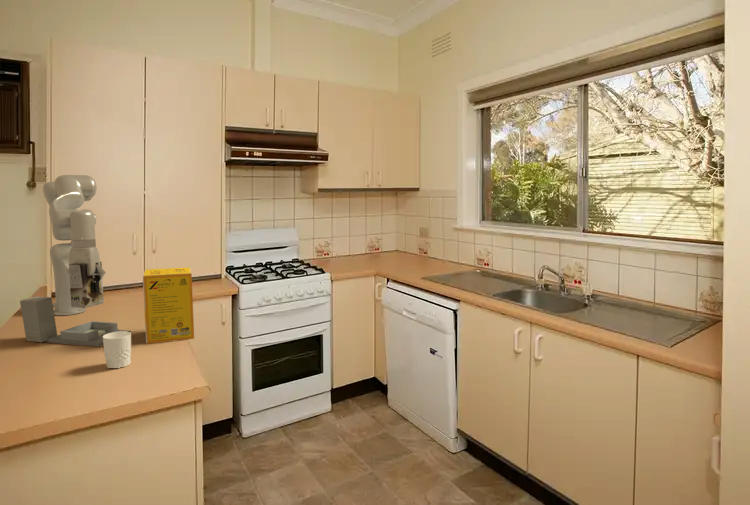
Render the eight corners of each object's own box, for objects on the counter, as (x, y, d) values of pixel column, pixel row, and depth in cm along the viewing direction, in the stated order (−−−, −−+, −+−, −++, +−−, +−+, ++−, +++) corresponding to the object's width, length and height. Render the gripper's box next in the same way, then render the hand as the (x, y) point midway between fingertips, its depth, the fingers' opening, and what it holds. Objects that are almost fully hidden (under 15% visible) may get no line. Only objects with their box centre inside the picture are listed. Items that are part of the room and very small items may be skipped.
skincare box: (58, 338, 175) (54, 296, 173) (39, 343, 169) (35, 300, 167) (42, 335, 178) (38, 295, 176) (22, 341, 171) (19, 299, 169)
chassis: (47, 342, 170) (46, 331, 170) (82, 329, 186) (82, 319, 185) (98, 346, 166) (98, 335, 165) (130, 333, 181) (130, 323, 181)
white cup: (111, 361, 152) (109, 331, 151) (136, 360, 153) (135, 331, 151) (99, 370, 144) (97, 338, 143) (126, 369, 145) (124, 338, 143)
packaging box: (148, 331, 184) (145, 269, 181) (192, 327, 191) (190, 267, 188) (146, 343, 170) (142, 276, 167) (194, 338, 176) (191, 273, 173)
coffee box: (85, 308, 169) (82, 264, 167) (70, 307, 170) (67, 263, 168) (104, 303, 178) (102, 261, 176) (90, 302, 179) (87, 260, 177)
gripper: (55, 244, 170) (58, 293, 172) (96, 246, 166) (99, 295, 168) (72, 242, 177) (75, 289, 179) (112, 244, 173) (114, 291, 176)
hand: (87, 291), depth 174 cm, fingers closed on coffee box, 6 cm apart
